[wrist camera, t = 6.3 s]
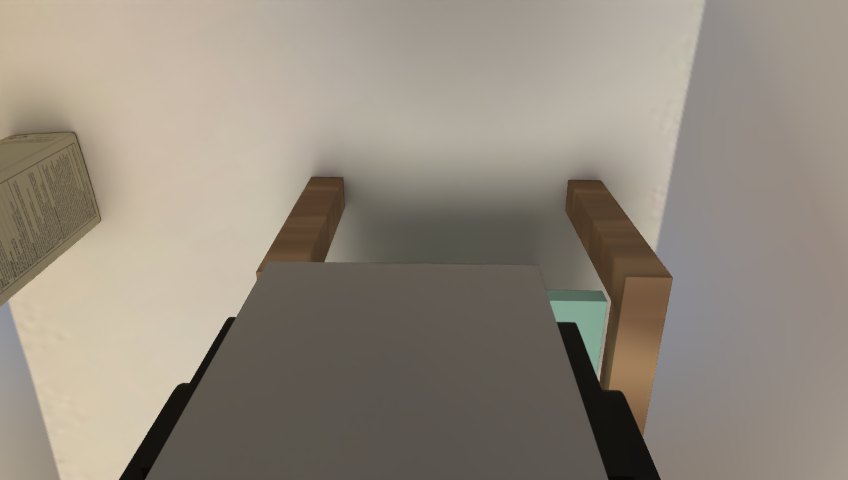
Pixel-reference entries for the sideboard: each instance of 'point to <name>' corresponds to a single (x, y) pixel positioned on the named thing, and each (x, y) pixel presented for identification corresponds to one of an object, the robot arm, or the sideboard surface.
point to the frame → (605, 245)
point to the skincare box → (40, 205)
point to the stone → (387, 381)
